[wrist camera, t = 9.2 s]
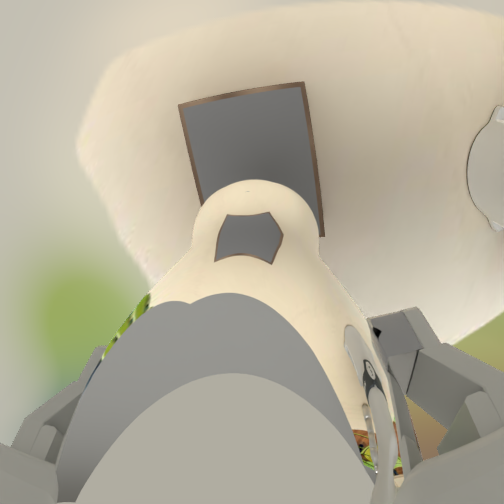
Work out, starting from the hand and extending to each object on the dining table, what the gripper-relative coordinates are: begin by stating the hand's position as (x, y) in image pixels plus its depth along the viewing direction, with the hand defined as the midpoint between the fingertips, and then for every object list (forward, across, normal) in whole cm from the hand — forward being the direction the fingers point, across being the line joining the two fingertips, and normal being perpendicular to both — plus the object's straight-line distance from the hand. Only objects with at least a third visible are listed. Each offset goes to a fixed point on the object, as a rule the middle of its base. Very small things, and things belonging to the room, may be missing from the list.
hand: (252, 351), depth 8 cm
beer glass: (+8, 0, 0) cm, 8 cm away
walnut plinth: (+28, 0, 0) cm, 28 cm away
